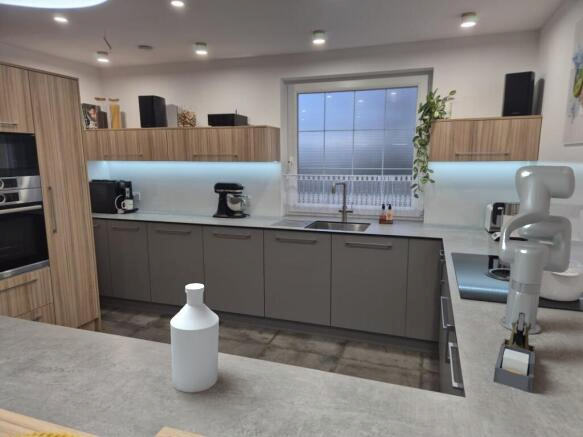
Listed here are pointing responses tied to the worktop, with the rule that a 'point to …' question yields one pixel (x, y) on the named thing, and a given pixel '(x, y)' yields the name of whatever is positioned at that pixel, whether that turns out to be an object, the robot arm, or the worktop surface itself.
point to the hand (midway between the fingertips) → (518, 343)
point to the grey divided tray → (514, 377)
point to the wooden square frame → (531, 348)
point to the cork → (525, 340)
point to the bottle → (194, 343)
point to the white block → (515, 361)
